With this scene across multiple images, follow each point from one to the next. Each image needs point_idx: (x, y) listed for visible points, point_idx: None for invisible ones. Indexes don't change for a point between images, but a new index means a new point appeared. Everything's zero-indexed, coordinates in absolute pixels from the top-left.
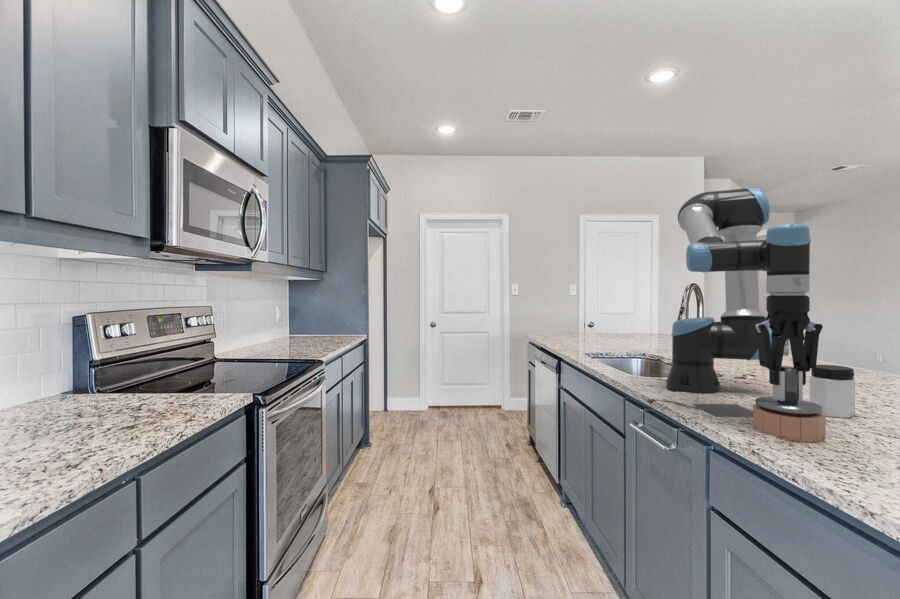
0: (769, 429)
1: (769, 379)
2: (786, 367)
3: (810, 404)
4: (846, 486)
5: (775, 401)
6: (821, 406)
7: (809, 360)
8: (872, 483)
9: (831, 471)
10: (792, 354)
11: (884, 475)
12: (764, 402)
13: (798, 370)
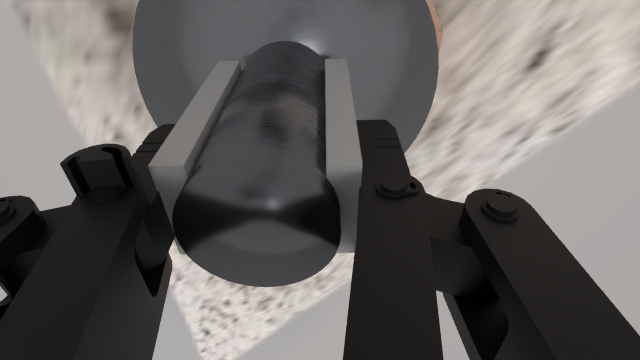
0: None
1: (144, 142)
2: (248, 233)
3: (389, 111)
4: (215, 323)
5: (241, 51)
6: (409, 145)
7: (466, 324)
8: (266, 314)
9: (229, 284)
10: (348, 325)
11: (316, 293)
12: (166, 79)
13: (356, 220)
